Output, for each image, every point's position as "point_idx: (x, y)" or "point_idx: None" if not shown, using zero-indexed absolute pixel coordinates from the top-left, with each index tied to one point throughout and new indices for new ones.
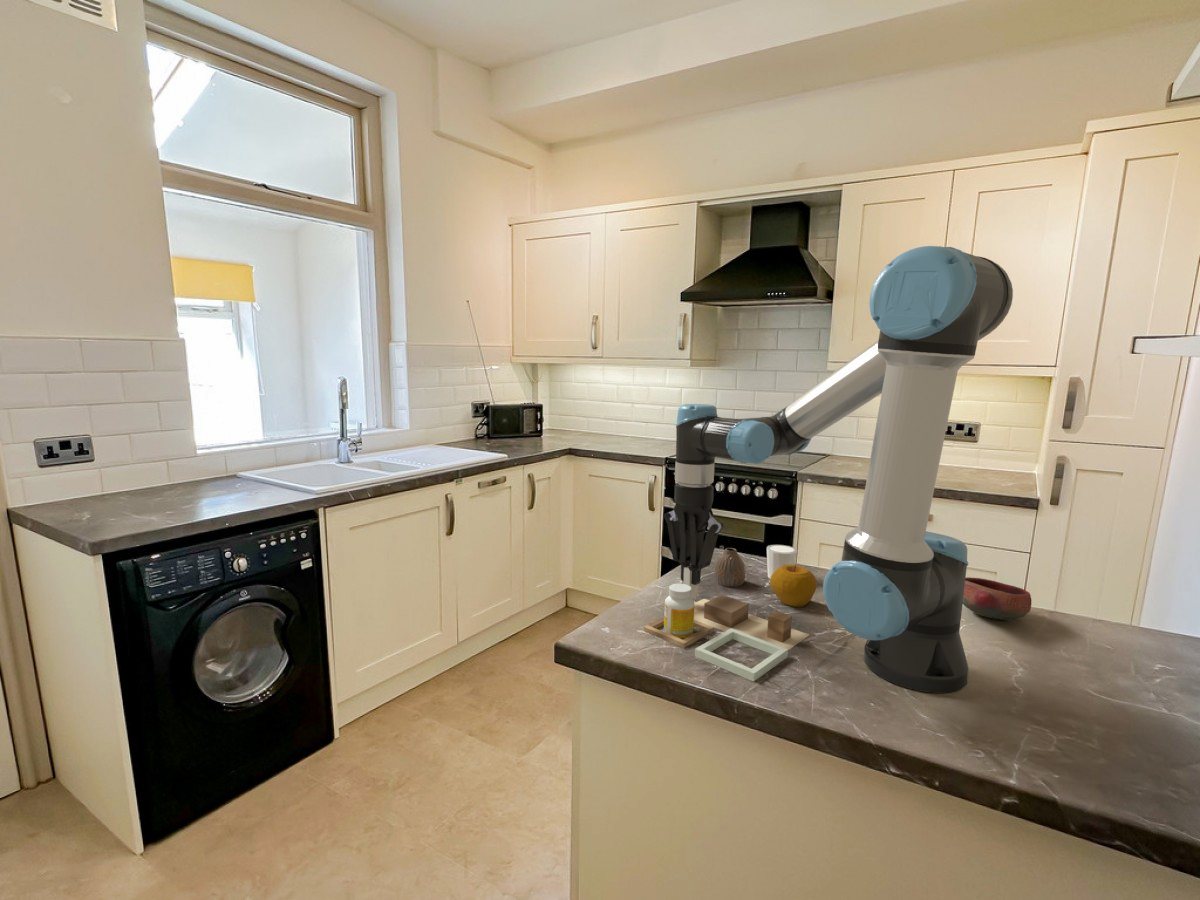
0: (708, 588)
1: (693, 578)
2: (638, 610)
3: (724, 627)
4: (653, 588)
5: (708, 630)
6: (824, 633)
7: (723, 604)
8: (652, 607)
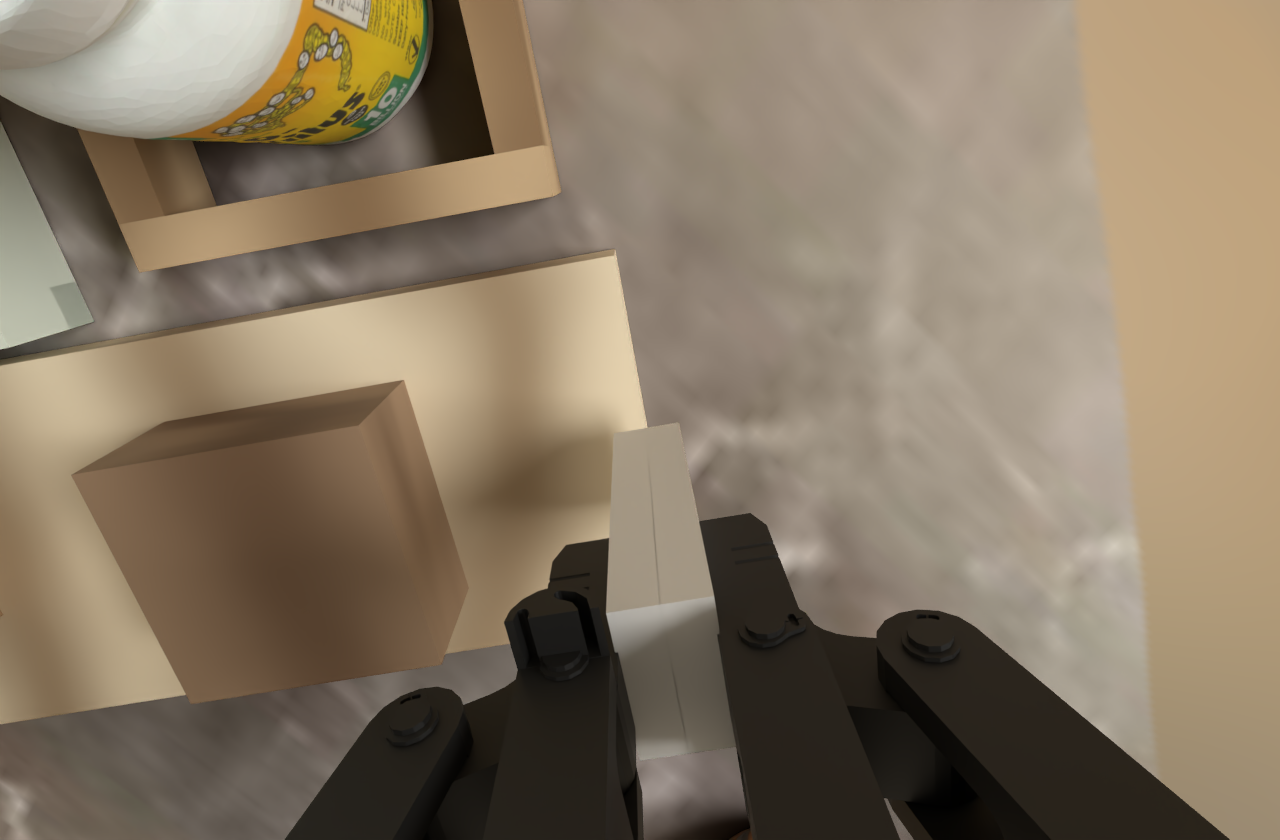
0: None
1: (588, 578)
2: (916, 91)
3: (190, 388)
4: (1117, 492)
5: (106, 192)
6: (6, 825)
7: (257, 539)
8: (877, 241)
